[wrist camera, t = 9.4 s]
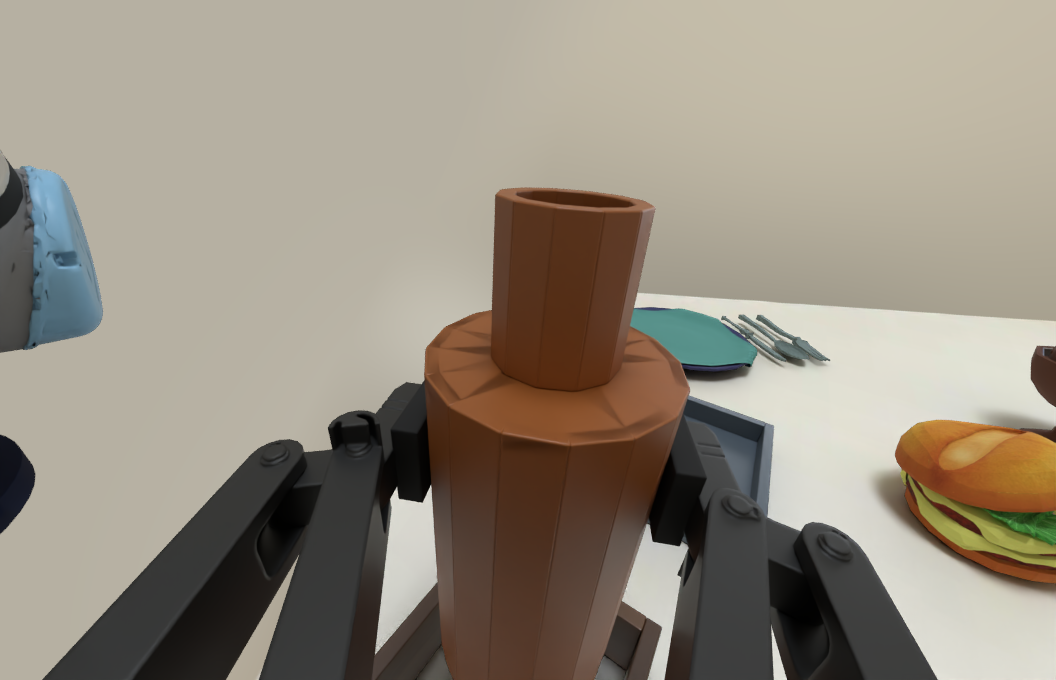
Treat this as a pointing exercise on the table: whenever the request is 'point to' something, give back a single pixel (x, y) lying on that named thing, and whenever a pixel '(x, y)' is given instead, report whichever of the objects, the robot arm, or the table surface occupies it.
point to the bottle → (547, 439)
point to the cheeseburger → (985, 493)
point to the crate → (422, 638)
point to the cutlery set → (713, 339)
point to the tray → (739, 446)
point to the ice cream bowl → (1044, 382)
